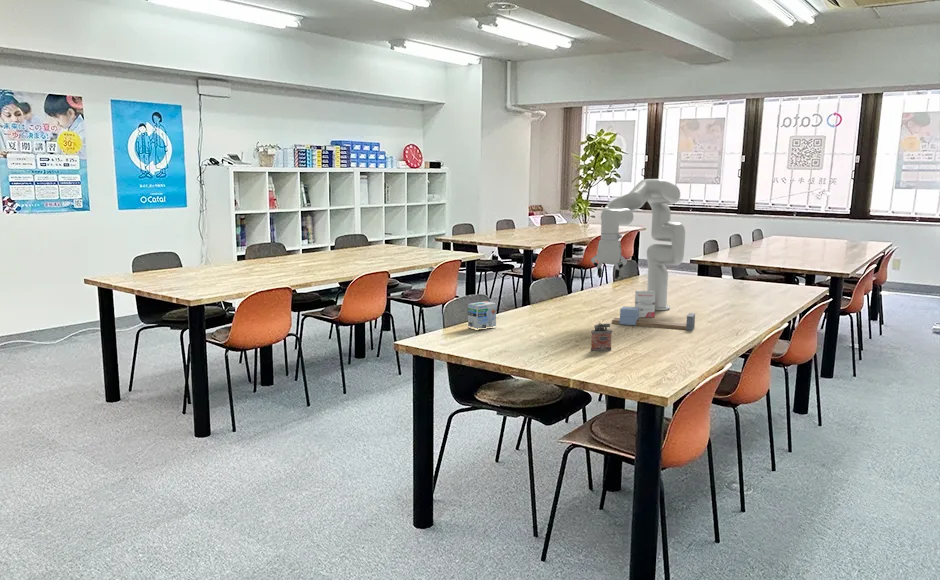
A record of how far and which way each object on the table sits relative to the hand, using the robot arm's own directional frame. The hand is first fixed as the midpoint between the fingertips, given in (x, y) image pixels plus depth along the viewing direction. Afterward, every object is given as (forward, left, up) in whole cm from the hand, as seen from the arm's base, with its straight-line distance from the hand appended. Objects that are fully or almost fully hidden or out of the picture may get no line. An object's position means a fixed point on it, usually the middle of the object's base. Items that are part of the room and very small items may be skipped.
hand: (608, 277), depth 310 cm
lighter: (+54, +10, -20) cm, 58 cm away
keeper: (0, +10, -20) cm, 22 cm away
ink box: (-20, +13, -20) cm, 31 cm away
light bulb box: (+36, -45, -20) cm, 61 cm away
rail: (0, +20, -20) cm, 28 cm away
